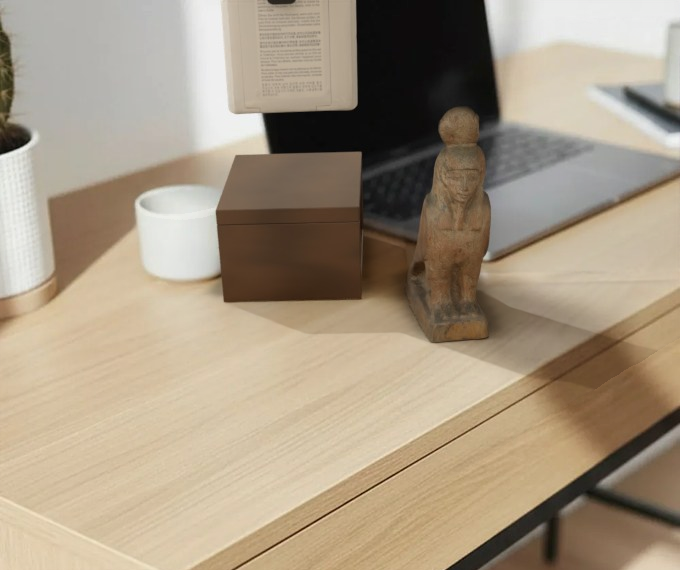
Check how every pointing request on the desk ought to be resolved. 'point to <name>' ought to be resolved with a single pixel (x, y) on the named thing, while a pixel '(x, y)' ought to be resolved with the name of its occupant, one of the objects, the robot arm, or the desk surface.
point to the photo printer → (290, 55)
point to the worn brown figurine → (452, 236)
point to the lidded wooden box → (292, 227)
